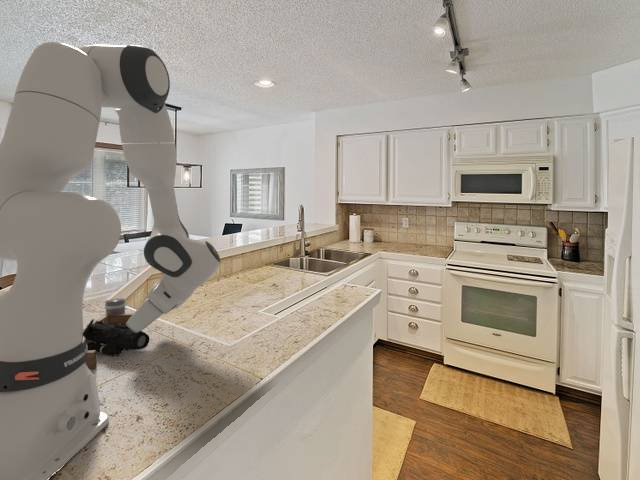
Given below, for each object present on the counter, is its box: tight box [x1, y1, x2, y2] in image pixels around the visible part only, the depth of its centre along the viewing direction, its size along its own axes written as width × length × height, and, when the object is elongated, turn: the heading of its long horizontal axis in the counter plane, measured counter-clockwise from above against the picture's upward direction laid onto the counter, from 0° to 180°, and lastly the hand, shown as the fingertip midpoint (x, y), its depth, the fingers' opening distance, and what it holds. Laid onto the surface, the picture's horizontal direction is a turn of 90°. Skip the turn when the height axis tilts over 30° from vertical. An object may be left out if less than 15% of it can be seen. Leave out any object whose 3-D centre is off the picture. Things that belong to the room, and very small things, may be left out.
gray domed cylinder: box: [104, 297, 127, 314], centre depth 101 cm, size 5×5×7 cm
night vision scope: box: [83, 318, 150, 357], centre depth 81 cm, size 8×18×10 cm
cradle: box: [83, 313, 134, 371], centre depth 85 cm, size 26×9×4 cm, turn 9°
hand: (131, 328), depth 86 cm, fingers closed
